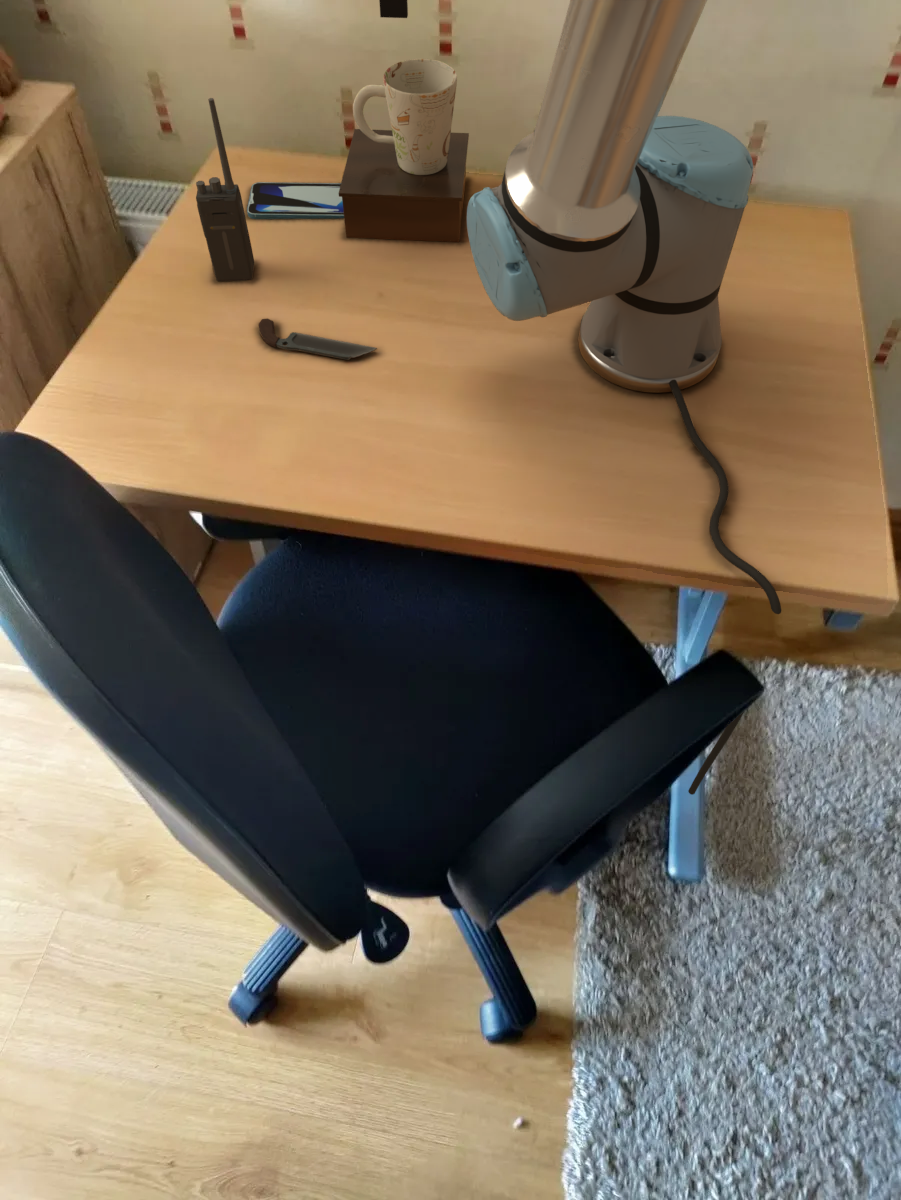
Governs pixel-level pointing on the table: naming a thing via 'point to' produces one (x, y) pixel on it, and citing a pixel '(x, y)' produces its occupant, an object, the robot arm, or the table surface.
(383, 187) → the stand
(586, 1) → the robot arm
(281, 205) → the smartphone
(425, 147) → the mug
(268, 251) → the table surface
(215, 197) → the walkie-talkie
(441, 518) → the table surface
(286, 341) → the knife
